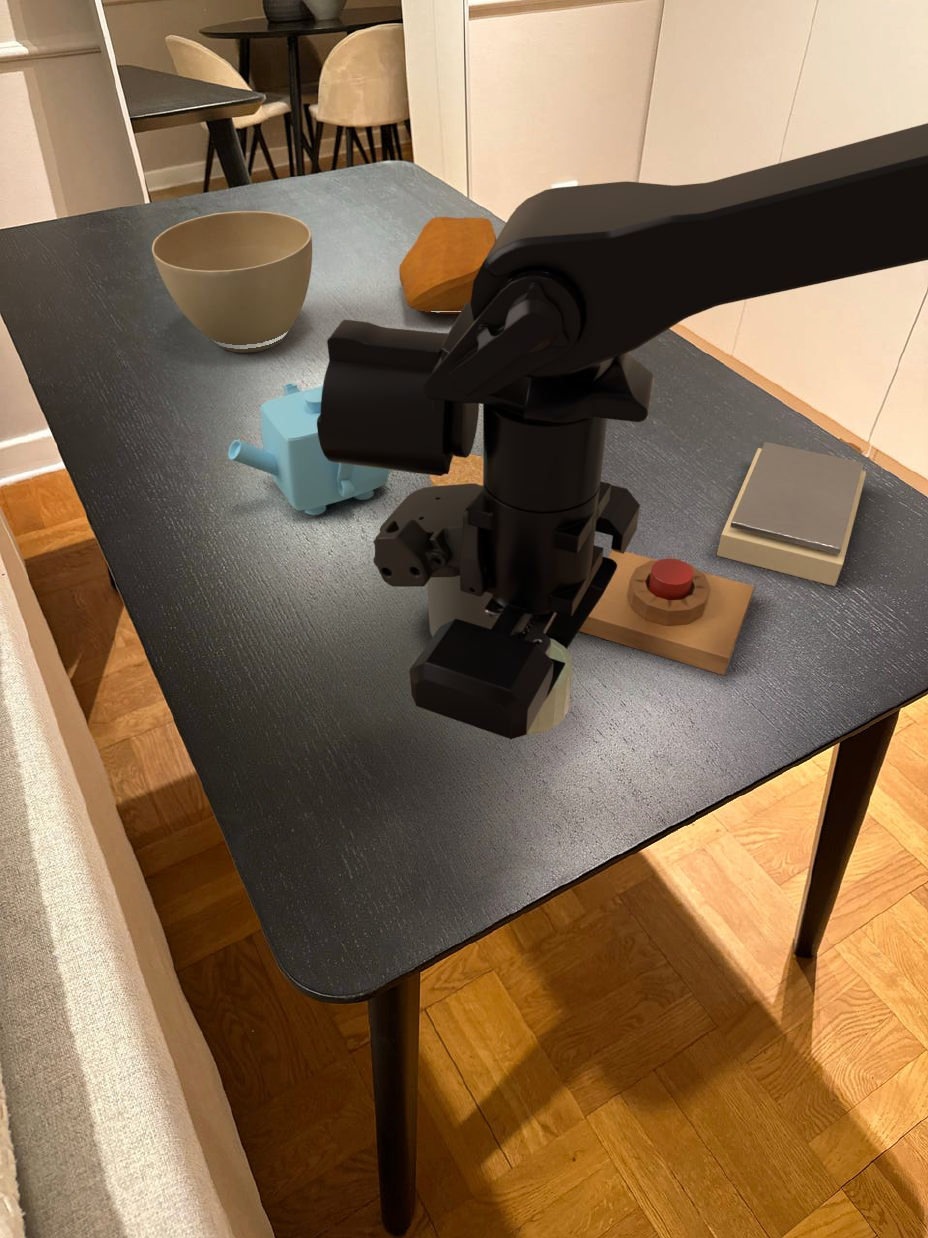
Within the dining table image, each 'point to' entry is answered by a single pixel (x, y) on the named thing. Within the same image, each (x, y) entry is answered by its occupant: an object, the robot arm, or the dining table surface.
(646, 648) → the block
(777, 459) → the pan
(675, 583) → the tare button
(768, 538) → the scale
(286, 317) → the deep tan bowl
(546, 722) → the mint green cup
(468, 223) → the bread
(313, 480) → the teapot
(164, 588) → the dining table surface
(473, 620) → the bottle
